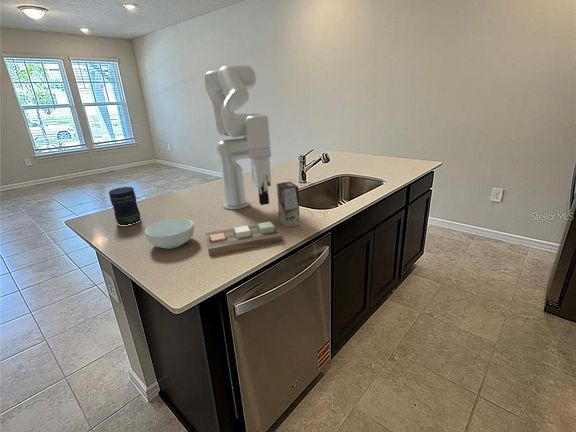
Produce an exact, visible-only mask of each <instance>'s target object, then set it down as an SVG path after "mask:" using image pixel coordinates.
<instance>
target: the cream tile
mask: <svg viewBox="0 0 576 432" xmlns="http://www.w3.org/2000/svg"><path fill="white" fill-rule="evenodd" d="M233 228H234V231H235V236H236V239H237V238H243V237H248V236H251V234H250V229H249V228H248V225H244V226H243V225H242V226H236V227H233Z"/></svg>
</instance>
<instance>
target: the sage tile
mask: <svg viewBox="0 0 576 432" xmlns="http://www.w3.org/2000/svg"><path fill="white" fill-rule="evenodd" d="M271 222H272V221H266V222H265V221H264V222H261V223H260V222H259V223H257V224H258V231H259V233H260V234H265V233H270V232H274V226H273V224H274V223H273V222H272V223H273V224H272V223H271Z"/></svg>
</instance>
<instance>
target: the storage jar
mask: <svg viewBox="0 0 576 432" xmlns="http://www.w3.org/2000/svg"><path fill="white" fill-rule="evenodd" d="M108 195H109V200H110V202H111V206H112V208H113V211H114V213H113V214H114V216H115V217H114V218H115V220H116V223H118V224H120V225H128V224H133V223H136V222H138V221H140V219H141V212H140V210H139V207H138V204H137V197H136V196H137V195H136V193H135V189H134V187H132V186H123V187H117V188H114V189H111V190H109V191H108ZM141 220H142V219H141ZM118 224H117V225H118Z"/></svg>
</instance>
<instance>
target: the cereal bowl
mask: <svg viewBox="0 0 576 432" xmlns="http://www.w3.org/2000/svg"><path fill="white" fill-rule="evenodd" d="M144 232H145V237H146V240H147V241H148V243H149V244H151V245H152V246H154V247H157V248H163V249H166V250H167V249H168V250H170V249H175V248H179V247H181V246H183V245H184V244H185V243H187V242H188V241H189V240H191V238H192V237H193V236H194V233H195V226H194V222H193V221H192V220H190V219H188V218H187V219H185V218H171V219H166V220H162V221H159V222H155V223H152V224H151V225H149V226H147V228H146V229H145V231H144Z"/></svg>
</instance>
